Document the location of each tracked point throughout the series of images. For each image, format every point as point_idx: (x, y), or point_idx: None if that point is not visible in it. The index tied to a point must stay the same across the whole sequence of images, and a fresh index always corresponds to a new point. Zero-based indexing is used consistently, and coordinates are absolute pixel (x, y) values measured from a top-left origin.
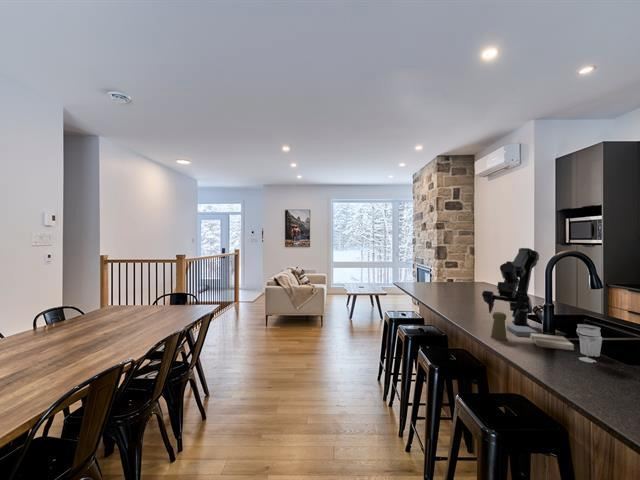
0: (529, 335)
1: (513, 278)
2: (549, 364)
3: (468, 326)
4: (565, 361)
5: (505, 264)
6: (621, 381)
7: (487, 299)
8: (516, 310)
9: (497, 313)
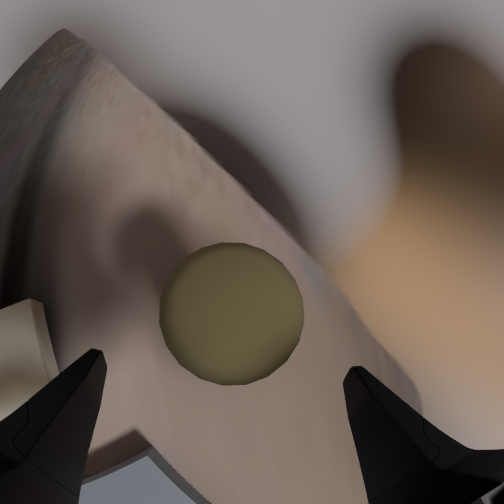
0: (99, 473)
1: None
2: (51, 126)
3: None
4: (4, 181)
5: None
6: None
7: (481, 451)
8: (39, 391)
9: (247, 253)
